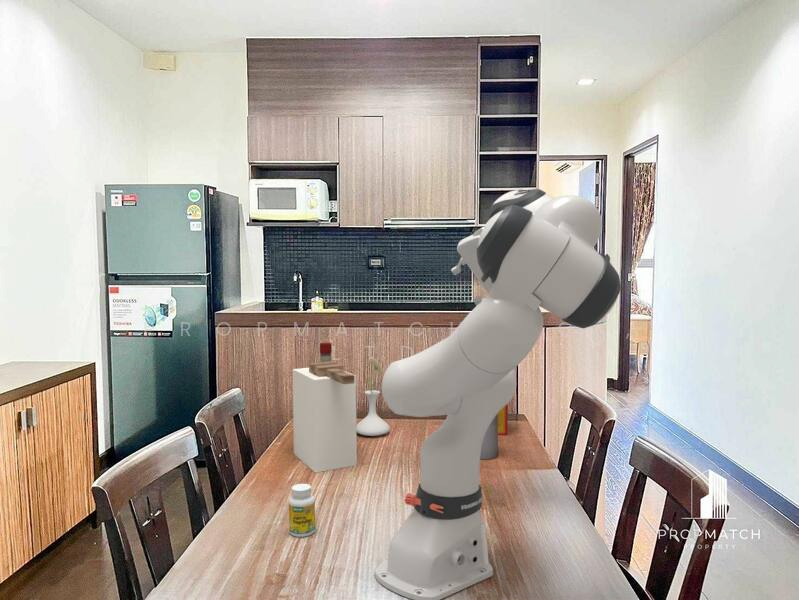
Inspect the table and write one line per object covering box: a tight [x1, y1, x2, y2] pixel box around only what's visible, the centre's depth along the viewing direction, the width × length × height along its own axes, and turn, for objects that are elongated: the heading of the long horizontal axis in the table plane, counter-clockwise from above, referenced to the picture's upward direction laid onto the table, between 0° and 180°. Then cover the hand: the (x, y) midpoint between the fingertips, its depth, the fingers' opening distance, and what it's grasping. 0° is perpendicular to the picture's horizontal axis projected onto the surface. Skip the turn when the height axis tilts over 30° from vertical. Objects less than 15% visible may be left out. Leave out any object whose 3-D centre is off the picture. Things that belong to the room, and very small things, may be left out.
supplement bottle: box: [288, 483, 316, 538], centre depth 125 cm, size 5×5×10 cm
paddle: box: [308, 361, 355, 384], centre depth 162 cm, size 20×7×2 cm, turn 28°
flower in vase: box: [356, 356, 391, 437], centre depth 196 cm, size 13×11×25 cm
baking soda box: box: [498, 403, 509, 436], centre depth 197 cm, size 10×6×16 cm
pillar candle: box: [480, 413, 499, 461], centre depth 174 cm, size 10×10×15 cm
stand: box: [292, 367, 358, 474], centre depth 170 cm, size 18×12×25 cm, turn 28°
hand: (464, 287), depth 145 cm, fingers open, 8 cm apart
